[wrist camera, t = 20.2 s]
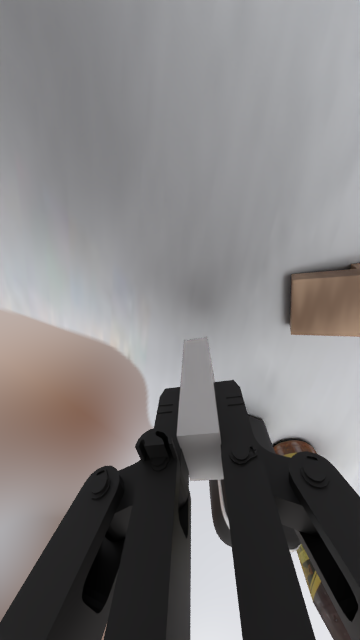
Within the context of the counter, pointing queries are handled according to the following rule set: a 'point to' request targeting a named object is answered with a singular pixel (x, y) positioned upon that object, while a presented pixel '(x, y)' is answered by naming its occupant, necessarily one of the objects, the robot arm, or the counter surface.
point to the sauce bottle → (312, 578)
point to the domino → (326, 303)
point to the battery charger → (220, 496)
